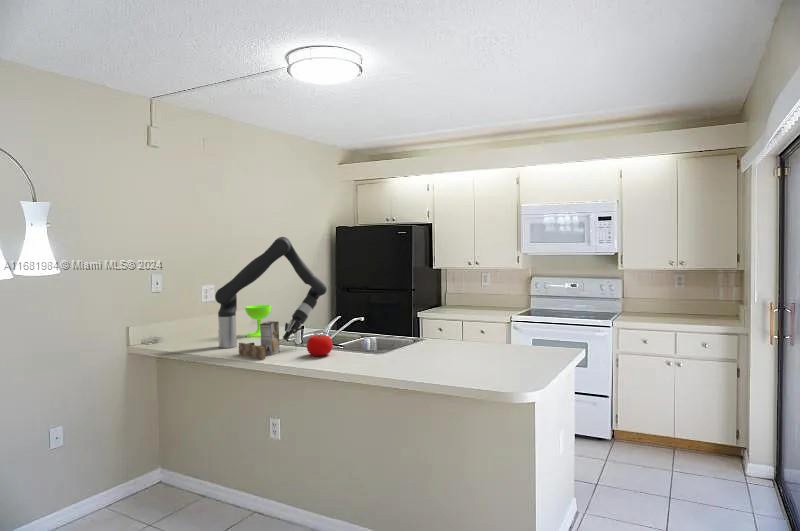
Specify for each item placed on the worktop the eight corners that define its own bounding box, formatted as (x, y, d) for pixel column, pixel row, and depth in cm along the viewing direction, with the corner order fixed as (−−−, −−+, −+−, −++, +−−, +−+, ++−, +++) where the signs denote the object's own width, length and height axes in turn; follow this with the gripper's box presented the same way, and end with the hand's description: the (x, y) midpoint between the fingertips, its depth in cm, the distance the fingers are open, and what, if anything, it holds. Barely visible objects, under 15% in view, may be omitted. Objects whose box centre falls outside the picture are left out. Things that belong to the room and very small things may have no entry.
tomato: (306, 353, 291) (305, 333, 291) (331, 351, 294) (331, 331, 293) (307, 358, 277) (307, 337, 277) (334, 357, 280) (333, 336, 279)
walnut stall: (239, 354, 293) (238, 342, 292) (247, 352, 296) (247, 341, 296) (263, 359, 277) (262, 347, 277) (272, 358, 281) (271, 345, 281)
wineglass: (277, 333, 357) (276, 305, 357) (261, 338, 343) (260, 308, 342) (257, 332, 364) (256, 304, 363) (240, 336, 349) (239, 307, 349)
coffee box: (268, 351, 299) (267, 321, 298) (280, 351, 297) (278, 321, 297) (260, 355, 290) (259, 323, 289) (272, 355, 288) (271, 323, 288)
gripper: (290, 308, 310) (272, 333, 302) (305, 309, 301) (287, 335, 293) (299, 316, 314) (281, 342, 306) (314, 318, 305) (296, 344, 297)
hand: (284, 338), depth 300 cm, fingers closed
